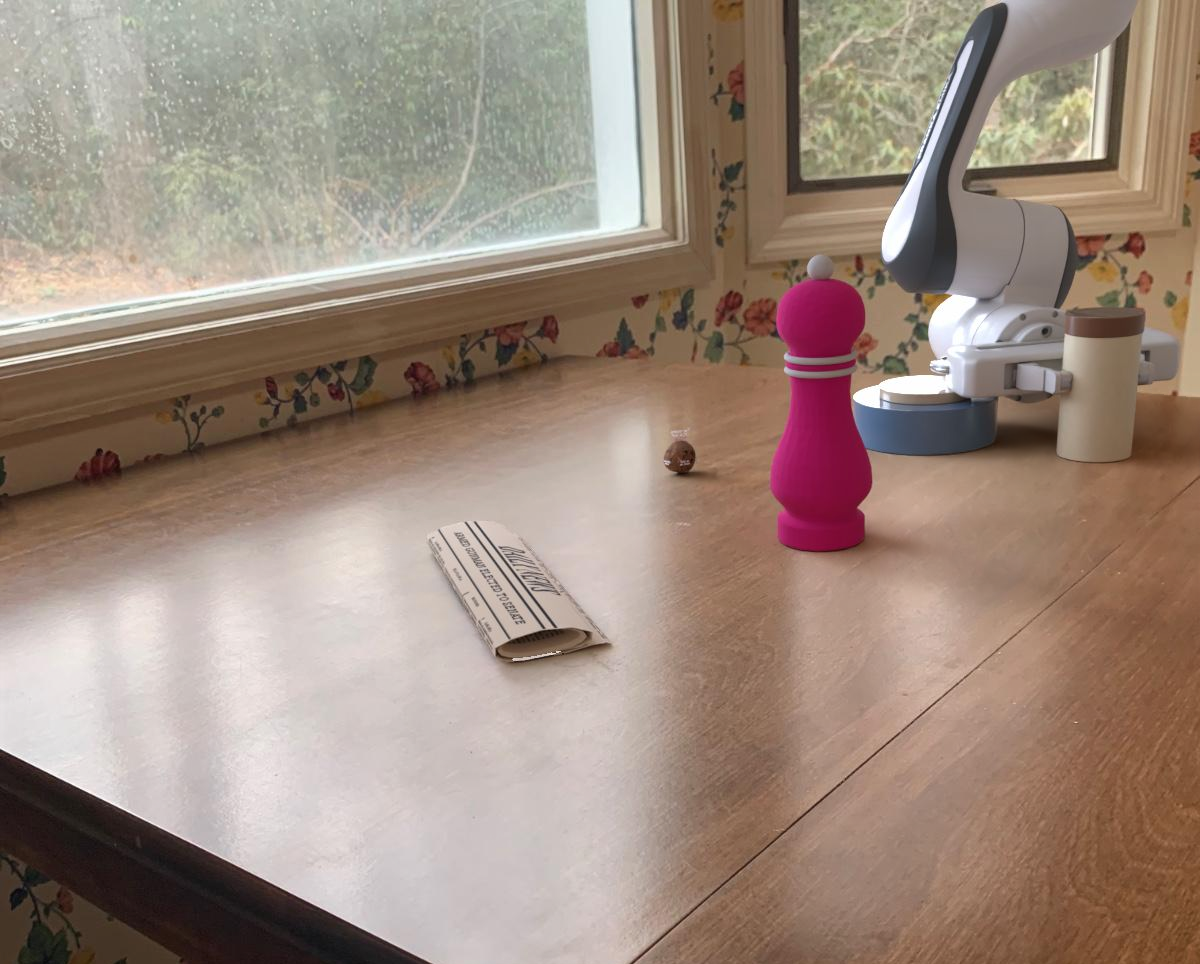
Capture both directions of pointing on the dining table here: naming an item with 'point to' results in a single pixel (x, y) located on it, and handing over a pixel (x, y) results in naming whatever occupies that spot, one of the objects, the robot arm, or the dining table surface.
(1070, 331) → the canister
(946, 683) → the dining table surface
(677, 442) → the chocolate
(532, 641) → the newspaper
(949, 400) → the two-tier round pedestal
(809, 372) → the pepper mill
